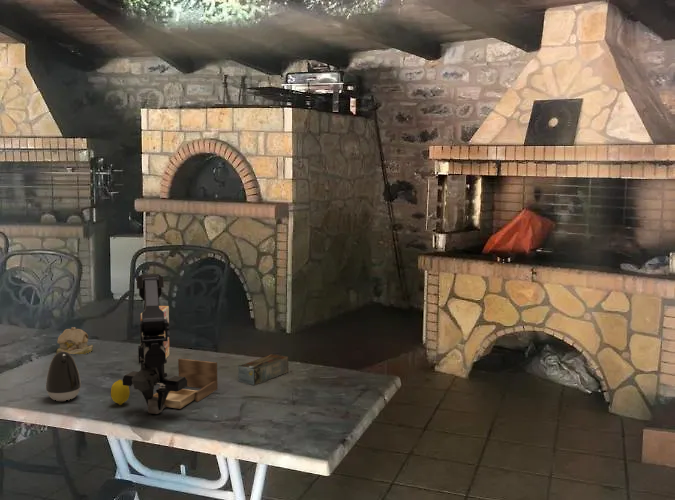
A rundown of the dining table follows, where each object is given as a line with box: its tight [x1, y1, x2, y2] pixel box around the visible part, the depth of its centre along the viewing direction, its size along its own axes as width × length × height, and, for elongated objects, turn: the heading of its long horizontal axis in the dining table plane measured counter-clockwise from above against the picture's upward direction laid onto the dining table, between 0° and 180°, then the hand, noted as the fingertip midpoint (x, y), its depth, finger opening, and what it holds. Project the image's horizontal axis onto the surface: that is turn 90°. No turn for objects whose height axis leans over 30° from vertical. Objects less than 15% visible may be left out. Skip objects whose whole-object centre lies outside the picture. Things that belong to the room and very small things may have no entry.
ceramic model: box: [56, 326, 94, 355], centre depth 265 cm, size 14×11×10 cm
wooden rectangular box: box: [237, 353, 290, 386], centre depth 235 cm, size 8×19×6 cm, turn 145°
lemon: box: [110, 379, 131, 406], centre depth 206 cm, size 6×6×8 cm
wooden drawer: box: [147, 388, 198, 415], centre depth 206 cm, size 11×17×4 cm, turn 162°
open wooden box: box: [157, 358, 219, 403], centre depth 217 cm, size 14×13×9 cm
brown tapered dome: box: [45, 351, 82, 402], centre depth 210 cm, size 10×10×15 cm
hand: (155, 409), depth 199 cm, fingers closed on wooden drawer, 3 cm apart
